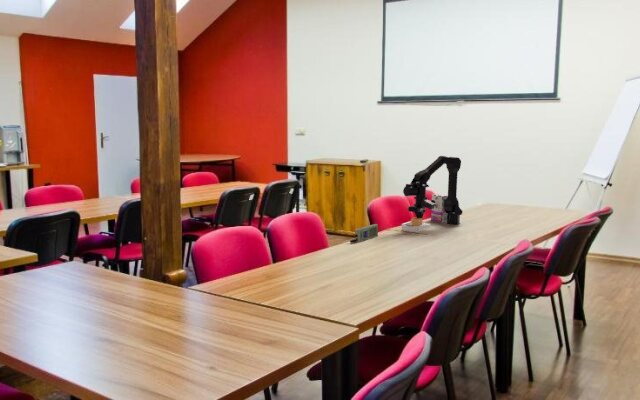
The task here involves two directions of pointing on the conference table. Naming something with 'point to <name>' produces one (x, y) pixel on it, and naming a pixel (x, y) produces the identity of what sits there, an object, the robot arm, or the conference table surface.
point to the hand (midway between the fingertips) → (419, 222)
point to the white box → (414, 227)
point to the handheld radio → (365, 233)
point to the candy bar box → (439, 209)
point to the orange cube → (416, 221)
